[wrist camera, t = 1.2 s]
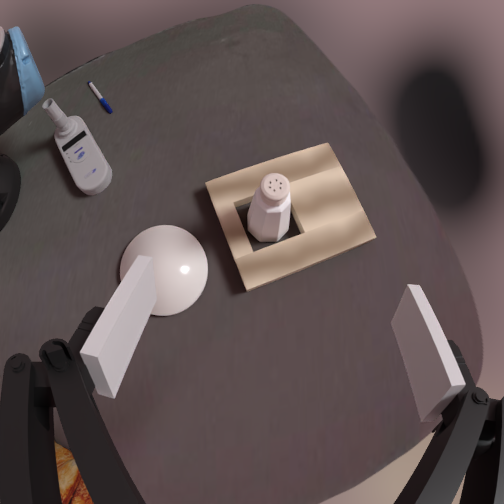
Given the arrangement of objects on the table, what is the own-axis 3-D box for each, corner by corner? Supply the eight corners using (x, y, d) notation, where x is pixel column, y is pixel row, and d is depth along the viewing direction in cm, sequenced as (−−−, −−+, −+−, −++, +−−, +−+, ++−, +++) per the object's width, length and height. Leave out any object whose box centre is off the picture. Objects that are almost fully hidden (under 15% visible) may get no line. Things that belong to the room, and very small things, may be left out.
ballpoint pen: (114, 111, 44) (113, 108, 43) (110, 115, 44) (108, 111, 43) (90, 82, 46) (89, 78, 45) (86, 85, 45) (84, 81, 44)
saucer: (112, 245, 39) (110, 244, 38) (191, 214, 40) (190, 212, 39) (137, 328, 37) (135, 328, 36) (221, 297, 38) (221, 296, 37)
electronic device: (56, 175, 31) (29, 105, 33) (89, 203, 41) (57, 137, 43) (92, 147, 32) (58, 82, 34) (119, 181, 42) (82, 118, 44)
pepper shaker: (278, 196, 41) (288, 152, 30) (296, 233, 40) (314, 200, 29) (238, 211, 40) (236, 171, 29) (256, 250, 39) (260, 222, 28)
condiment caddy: (207, 189, 41) (205, 182, 39) (324, 150, 42) (328, 142, 40) (246, 291, 38) (247, 289, 36) (370, 241, 40) (376, 237, 38)
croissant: (28, 419, 36) (-8, 437, 29) (38, 395, 33) (-5, 416, 25) (116, 521, 32) (86, 548, 25) (142, 515, 29) (108, 549, 22)
